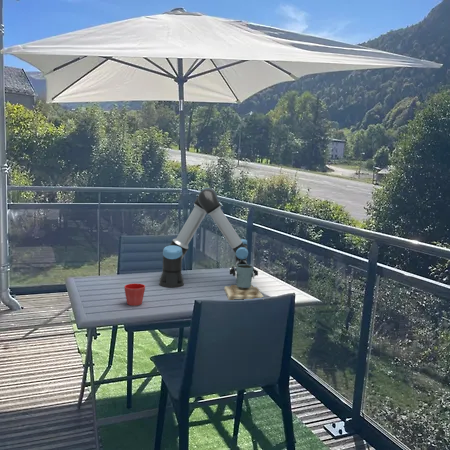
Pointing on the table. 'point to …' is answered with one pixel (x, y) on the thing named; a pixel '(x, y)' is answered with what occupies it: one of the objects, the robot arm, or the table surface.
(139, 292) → the flower pot
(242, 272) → the blue-grey embossed cup
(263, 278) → the table surface
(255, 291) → the stepped square base
